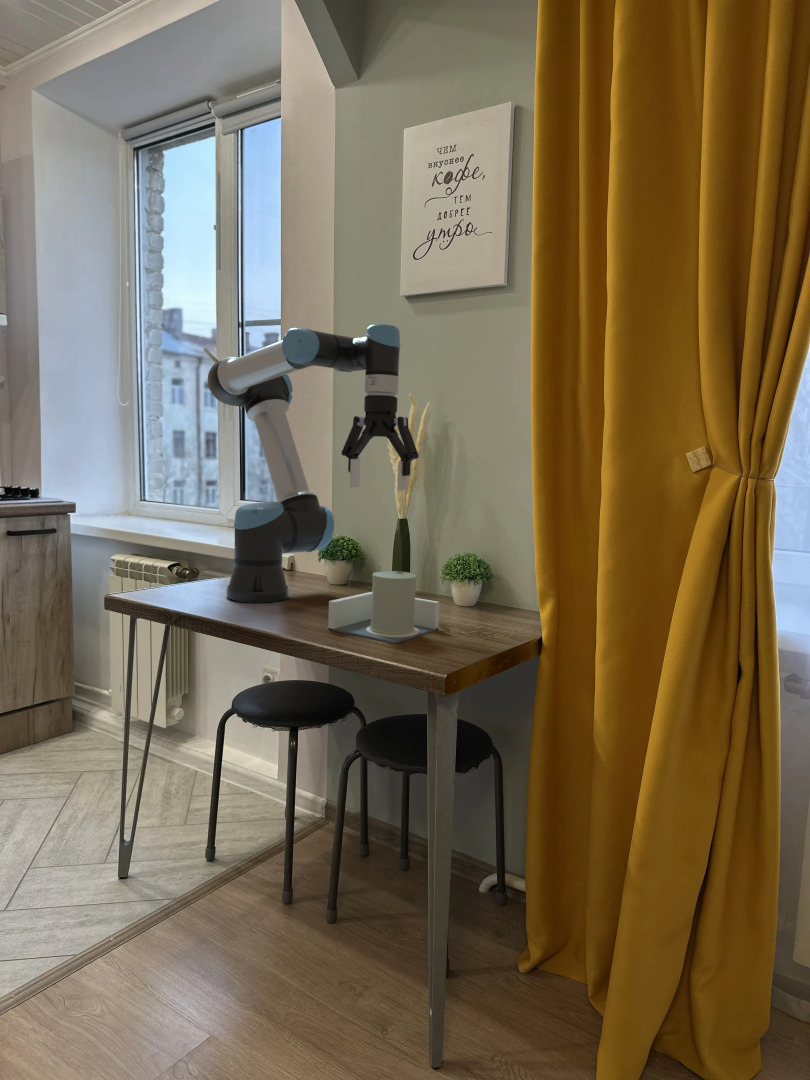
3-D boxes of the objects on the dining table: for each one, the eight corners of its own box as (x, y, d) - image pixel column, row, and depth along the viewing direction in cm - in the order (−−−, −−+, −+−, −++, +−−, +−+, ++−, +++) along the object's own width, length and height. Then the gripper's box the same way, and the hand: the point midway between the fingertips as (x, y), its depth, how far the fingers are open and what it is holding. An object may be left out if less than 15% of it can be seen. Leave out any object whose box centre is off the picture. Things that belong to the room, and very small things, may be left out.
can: (419, 627, 156) (422, 571, 155) (407, 637, 148) (410, 577, 146) (378, 622, 159) (380, 567, 157) (363, 631, 150) (366, 573, 149)
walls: (328, 629, 154) (328, 601, 153) (373, 617, 167) (374, 591, 166) (395, 643, 144) (396, 613, 144) (438, 629, 158) (439, 601, 157)
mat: (328, 629, 154) (328, 626, 154) (373, 617, 167) (374, 614, 167) (395, 643, 144) (395, 640, 144) (438, 629, 158) (438, 626, 157)
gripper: (328, 394, 172) (325, 485, 175) (417, 393, 158) (413, 492, 161) (348, 397, 178) (345, 485, 181) (436, 396, 165) (432, 491, 167)
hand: (377, 488), depth 171 cm, fingers open, 13 cm apart
